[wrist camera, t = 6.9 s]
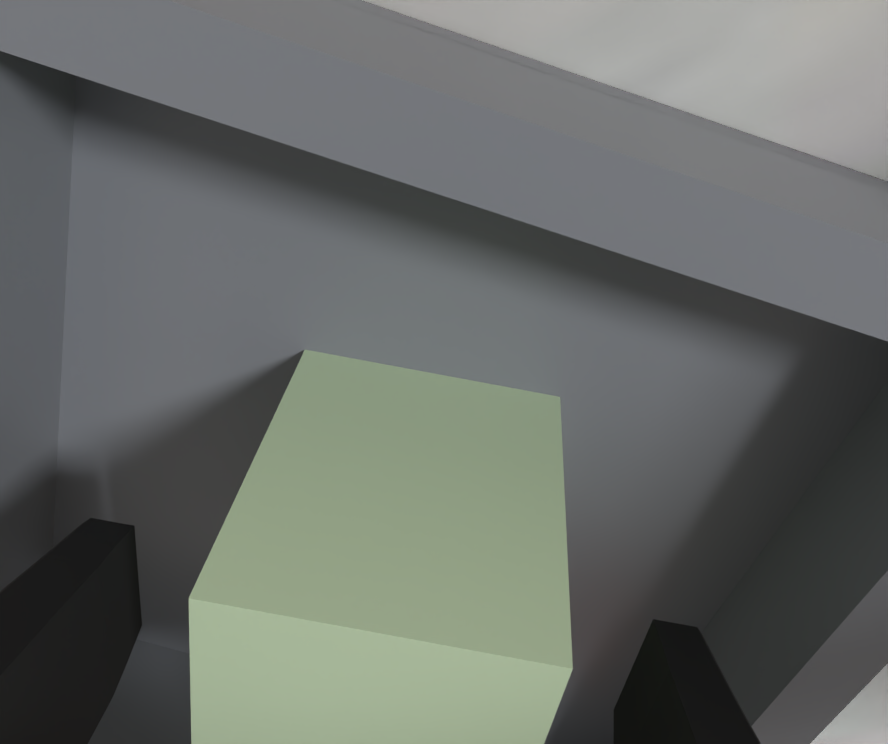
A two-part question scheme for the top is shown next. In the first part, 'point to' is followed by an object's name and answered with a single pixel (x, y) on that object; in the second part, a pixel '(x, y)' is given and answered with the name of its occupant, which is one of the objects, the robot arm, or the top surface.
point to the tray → (442, 323)
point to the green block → (388, 568)
